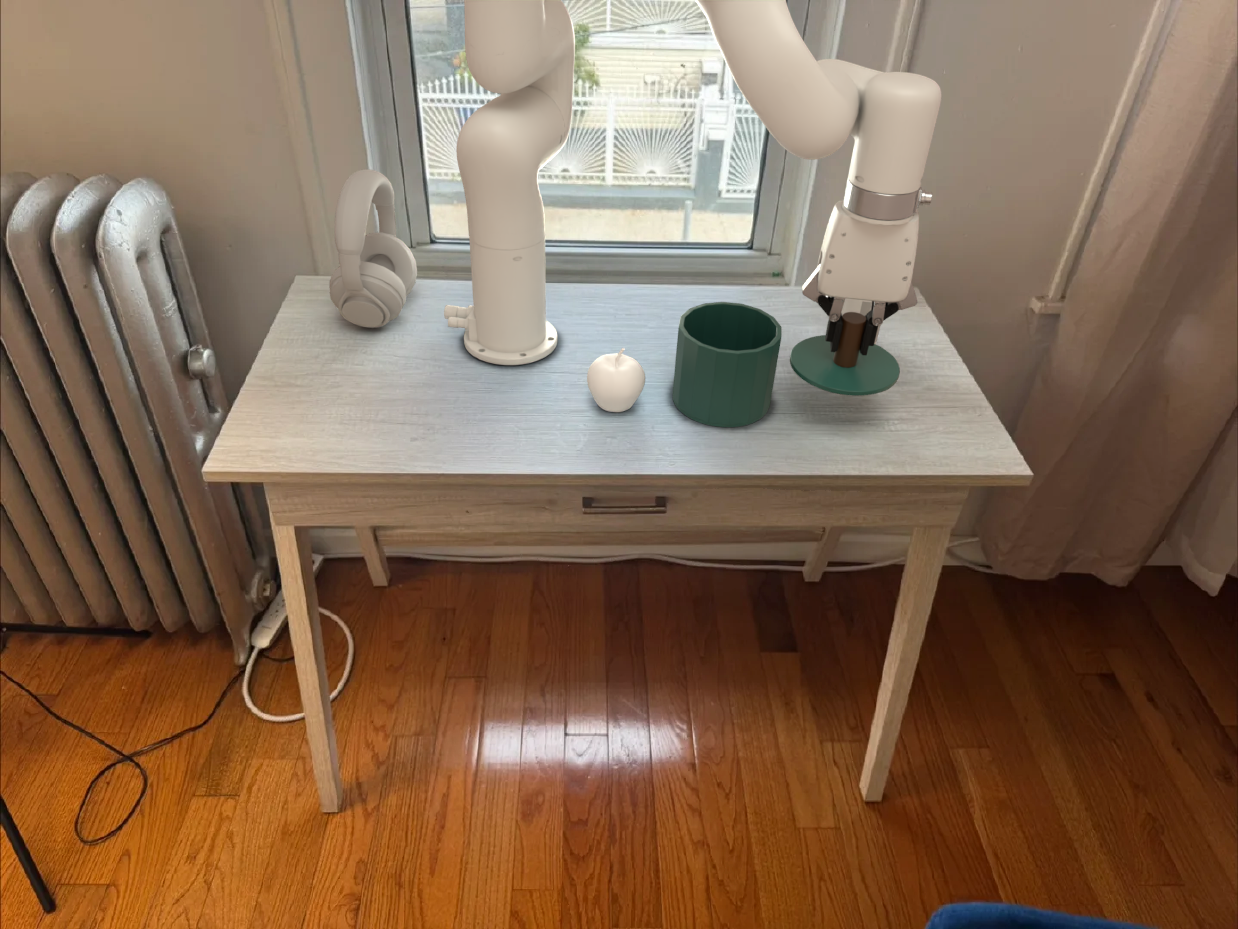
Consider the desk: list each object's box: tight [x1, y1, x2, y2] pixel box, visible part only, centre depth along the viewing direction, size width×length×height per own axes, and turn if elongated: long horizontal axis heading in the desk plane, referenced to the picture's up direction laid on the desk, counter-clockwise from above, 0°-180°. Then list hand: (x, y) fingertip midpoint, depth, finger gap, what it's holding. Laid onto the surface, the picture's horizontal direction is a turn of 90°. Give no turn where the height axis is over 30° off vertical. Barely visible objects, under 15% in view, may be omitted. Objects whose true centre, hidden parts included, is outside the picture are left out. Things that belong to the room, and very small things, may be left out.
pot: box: [671, 301, 783, 428], centre depth 113 cm, size 12×12×10 cm
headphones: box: [328, 168, 418, 329], centre depth 124 cm, size 18×10×20 cm, turn 177°
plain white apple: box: [586, 347, 646, 413], centre depth 112 cm, size 7×7×8 cm
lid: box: [789, 312, 901, 397], centre depth 109 cm, size 13×13×7 cm
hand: (847, 346), depth 109 cm, fingers closed on lid, 2 cm apart
